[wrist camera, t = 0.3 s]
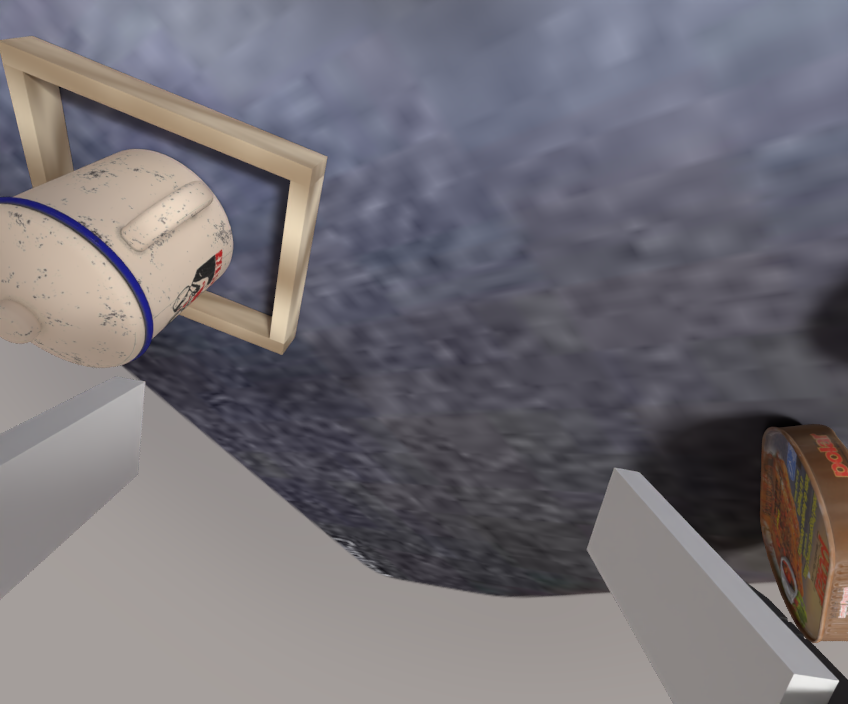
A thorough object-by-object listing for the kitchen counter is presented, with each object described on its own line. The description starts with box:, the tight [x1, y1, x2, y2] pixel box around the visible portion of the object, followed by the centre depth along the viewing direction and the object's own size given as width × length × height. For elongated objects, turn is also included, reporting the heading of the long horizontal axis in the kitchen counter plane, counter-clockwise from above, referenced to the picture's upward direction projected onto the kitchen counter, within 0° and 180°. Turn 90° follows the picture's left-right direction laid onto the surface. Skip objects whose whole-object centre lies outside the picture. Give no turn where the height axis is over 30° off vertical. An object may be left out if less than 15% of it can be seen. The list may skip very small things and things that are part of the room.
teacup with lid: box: [0, 149, 233, 368], centre depth 25 cm, size 12×9×12 cm
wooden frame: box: [0, 36, 327, 355], centre depth 28 cm, size 13×16×2 cm
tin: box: [760, 424, 848, 643], centre depth 29 cm, size 15×3×8 cm, turn 20°
